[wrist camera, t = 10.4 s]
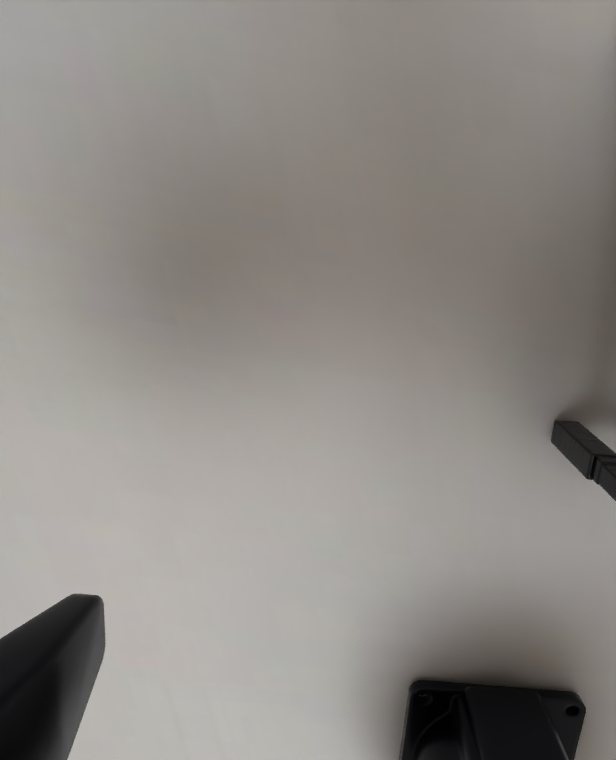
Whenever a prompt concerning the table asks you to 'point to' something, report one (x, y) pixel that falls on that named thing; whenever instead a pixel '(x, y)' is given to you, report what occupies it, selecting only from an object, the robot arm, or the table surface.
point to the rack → (586, 453)
